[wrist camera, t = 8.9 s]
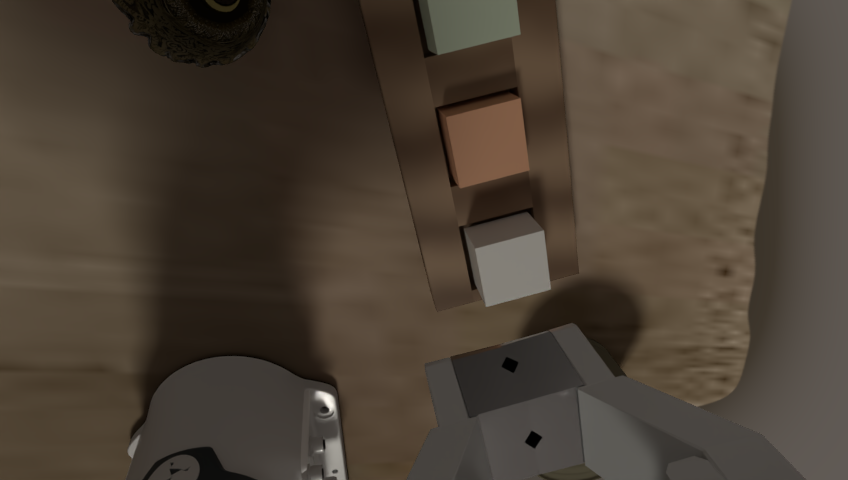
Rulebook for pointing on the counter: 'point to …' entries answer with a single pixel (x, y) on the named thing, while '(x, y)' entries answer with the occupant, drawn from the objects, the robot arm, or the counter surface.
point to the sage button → (467, 23)
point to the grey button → (508, 258)
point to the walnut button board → (424, 147)
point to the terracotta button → (484, 138)
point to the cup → (197, 28)
